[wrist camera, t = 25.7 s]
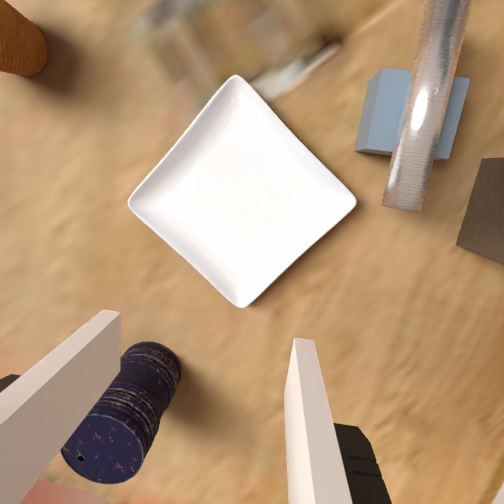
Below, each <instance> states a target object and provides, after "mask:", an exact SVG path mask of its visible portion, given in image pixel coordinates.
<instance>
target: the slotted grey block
mask: <svg viewBox="0 0 504 504" xmlns="http://www.w3.org/2000/svg"><path fill="white" fill-rule="evenodd" d="M456 245H457V246H460V247H462V248H465V249H467V250H470V251H472V252H475V253H477V254H479V255H482V256H484V257H487V258H489V259H492V260H494V261H497V262H499V263H501V264H504V158H487V159H482V161H481V164H480V168H479V171H478V174H477V177H476V181H475V184H474V187H473V190H472V194H471V197H470V200H469V204H468V207H467V210H466V213H465V217H464V220H463V223H462V227H461V230H460V233H459V236H458V240H457V243H456Z"/></svg>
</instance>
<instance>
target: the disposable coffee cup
mask: <svg viewBox="0 0 504 504" xmlns="http://www.w3.org/2000/svg"><path fill="white" fill-rule="evenodd" d="M47 56H48V50H47V44H46V41H45V38H44V36H43V34H42V33H41V31H40V30H39V29H38V28H37V27H36V26H35V25H34V24H33V23H32V22H30V21H29V20H28V19H27V18H25V17H24V16H23V15H22V14H21V13H19V12H18V11H17V10H16V9H15V8H13V7H12V6H11V5H10V4H8V3H7V2H6V1H5V0H0V71H2V72H7V73H12V74H17V75H21V76H33V75H35V74H37V73H39V72H40V71H41V70H42V69H43V67H44V66H45V63H46V61H47Z"/></svg>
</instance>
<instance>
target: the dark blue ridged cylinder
mask: <svg viewBox="0 0 504 504" xmlns="http://www.w3.org/2000/svg"><path fill="white" fill-rule="evenodd" d="M180 377H181V365H180V362H179V360H178V358H177V357H176V355H175V354H174V353H173V352H172V351H171V350H170V349H168V348H167V347H165V346H164V345H161V344H159V343H155V342H140V343H137V344H135V345H133V346H131V347H130V348H129V349H128V350H127V351H126V352H125V353H124V355H123V356H122V357H121V359H120V372H119V373H118V375H117V376H116V377H115V379H114V380H113V381H112V383H111V384H110V385H109V387H108V388H107V389H106V390H105V392H104V393H103V394H102V396H101V397H100V398H99V400H98V401H97V402H96V404H95V405H94V406H93V408H92V409H91V410H90V412H89V413H88V414H87V415H86V417H85V418H84V419H83V421H82V422H81V423H80V425H79V426H78V427H77V429H76V430H75V431H74V433H73V434H72V435H71V436H70V438H69V439H68V440H67V442H66V443H65V444H64V446H63V447H62V448H61V450H60V451H61V454H62V456H63V458H64V460H65V462H66V463H67V464H68V466H69V467H70V468H71V469H72V470H73V471H74V472H76V473H77V474H78V475H80V476H81V477H83V478H85V479H87V480H90V481H92V482H96V483H100V484H119V483H122V482H125V481H127V480H129V479H131V478H132V477H134V476H135V475H136V474H137V473H138V471H139V470H140V468H141V466H142V463H143V461H144V459H145V457H146V454H147V452H148V451H149V449H150V447H151V445H152V443H153V441H154V438H155V436H156V434H157V432H158V429H159V424H160V419H161V417H162V414H163V412H164V411H165V410H166V409H167V407H168V405H169V404H170V402H171V400H172V398H173V396H174V393H175V391H176V387H177V385H178V383H179V380H180Z"/></svg>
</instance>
